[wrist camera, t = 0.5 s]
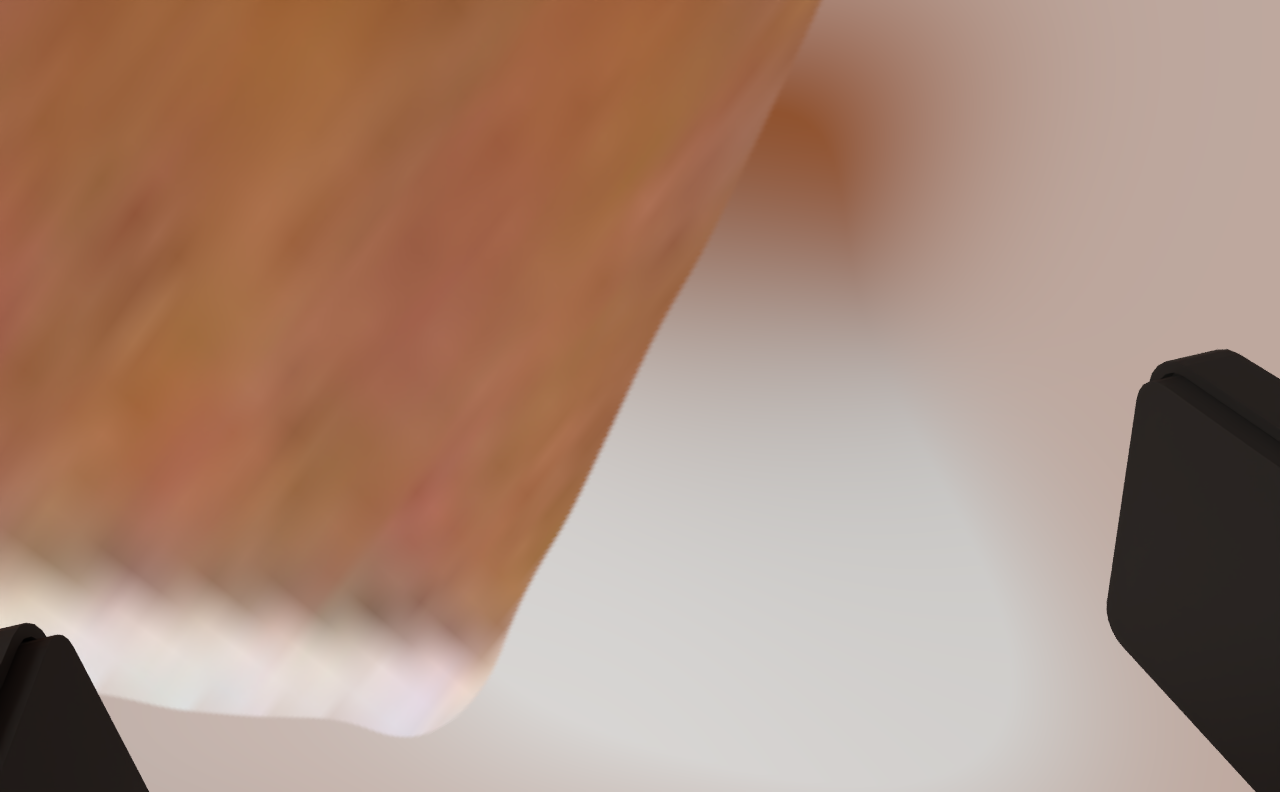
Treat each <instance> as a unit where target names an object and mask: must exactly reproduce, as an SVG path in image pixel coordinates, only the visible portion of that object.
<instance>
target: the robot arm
mask: <svg viewBox="0 0 1280 792" xmlns="http://www.w3.org/2000/svg"><path fill="white" fill-rule="evenodd" d="M1107 615H1108V621H1109V623H1110V626H1111V629H1112V631H1113V633H1114V635H1115V637H1116V639H1117V640H1118V641H1119V642H1120V644H1121V645H1122V646H1123V647H1124V649H1125V650H1126V651H1127V652H1128V653H1129V654H1130V655H1131V656H1132V657H1133V658H1134V659H1135V661H1136V662H1137V663H1138V664H1139V665H1140V666H1141V667H1142V668H1143V669H1144V670H1145V672H1146V673H1147V674H1148V675H1149V676H1150V677H1151V678H1152V679H1153V680H1154V681H1155V682H1156V683H1157V685H1158V686H1159V687H1160V688H1161V689H1162V690H1163V691H1164V692H1165V693H1166V694H1167V696H1168V697H1169V698H1170V699H1171V700H1172V701H1173V702H1174V703H1175V704H1176V705H1177V706H1178V707H1179V709H1180V710H1181V711H1182V712H1183V713H1184V714H1185V715H1186V716H1187V717H1188V718H1189V719H1190V721H1192V723H1193V724H1194V725H1195V726H1196V727H1197V728H1198V729H1199V730H1200V732H1201V733H1202V734H1203V735H1204V736H1205V737H1206V738H1207V739H1208V740H1209V741H1210V742H1211V744H1212V745H1213V746H1214V747H1215V748H1216V749H1217V750H1218V751H1219V752H1220V753H1221V754H1222V755H1223V757H1224V758H1225V759H1226V760H1227V761H1228V762H1229V763H1230V764H1231V765H1232V766H1233V768H1234V769H1235V770H1236V771H1237V772H1238V773H1239V774H1240V775H1241V776H1242V777H1243V778H1244V780H1245V781H1246V782H1247V783H1248V784H1249V785H1250V786H1251V787H1252V788H1253V789H1254V790H1255V791H1256V792H1280V379H1279V378H1277V377H1276V376H1274V375H1272V374H1271V373H1269V372H1267V371H1266V370H1264V369H1263V368H1261V367H1259V366H1258V365H1256V364H1255V363H1253V362H1251V361H1250V360H1248V359H1246V358H1245V357H1243V356H1241V355H1240V354H1238V353H1235V352H1233V351H1230V350H1228V349H1226V350H1214V351H1210V352H1205V353H1201V354H1197V355H1192V356H1188V357H1183V358H1179V359H1175V360H1170V361H1166V362H1164V363H1162V364H1160V365H1159V366H1157V368H1156V369H1155V370H1154V372H1153V373H1152V375H1151V379H1150V382H1148V383H1146V384H1144V385H1143V386H1142V388H1141V389H1140V390H1139V393H1138V396H1137V400H1136V407H1135V414H1134V421H1133V428H1132V435H1131V441H1130V448H1129V455H1128V462H1127V468H1126V476H1125V482H1124V489H1123V496H1122V504H1121V510H1120V517H1119V523H1118V530H1117V537H1116V544H1115V550H1114V557H1113V564H1112V571H1111V578H1110V585H1109V592H1108V598H1107ZM0 792H149V791H148V789H147V787H146V785H145V783H144V781H143V779H142V777H141V775H140V773H139V772H138V770H137V768H136V766H135V764H134V762H133V760H132V758H131V756H130V754H129V752H128V750H127V748H126V747H125V745H124V743H123V741H122V739H121V737H120V735H119V733H118V731H117V729H116V728H115V725H114V724H113V722H112V720H111V718H110V716H109V714H108V712H107V710H106V708H105V706H104V704H103V702H102V701H101V699H100V697H99V695H98V693H97V691H96V689H95V687H94V685H93V683H92V681H91V679H90V677H89V676H88V674H87V672H86V670H85V668H84V666H83V664H82V662H81V660H80V658H79V656H78V654H77V653H76V651H75V649H74V647H73V645H72V644H71V642H70V641H69V640H68V639H67V638H66V637H64V636H63V635H54V636H49V637H46V635H45V634H44V632H43V631H42V630H41V629H40V628H38V627H37V626H36V625H35V624H30V623H23V624H19V625H14V626H10V627H6V628H1V629H0Z"/></svg>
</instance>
